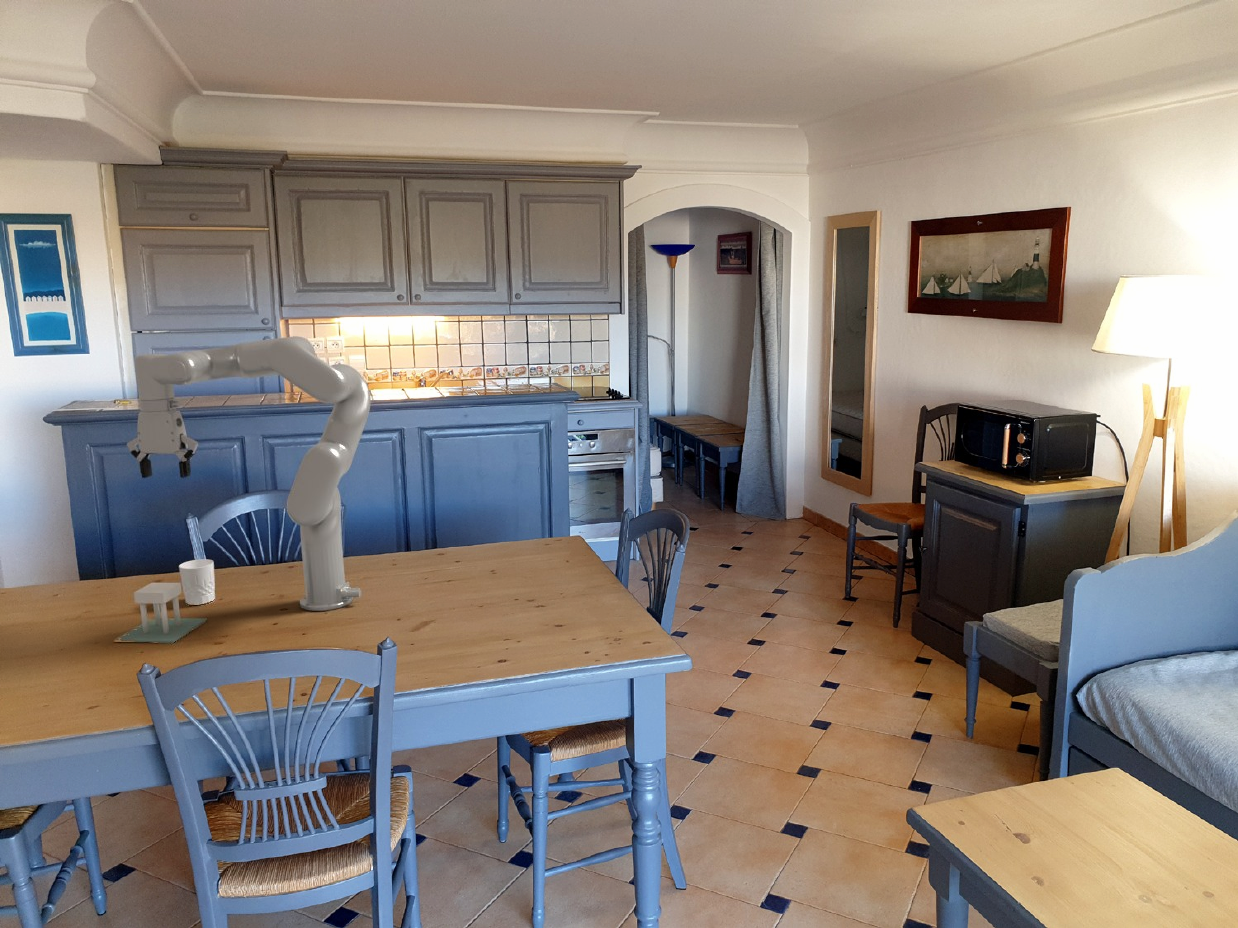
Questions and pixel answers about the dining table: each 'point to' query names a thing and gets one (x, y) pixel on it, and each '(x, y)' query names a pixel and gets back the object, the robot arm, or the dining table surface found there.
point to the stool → (158, 595)
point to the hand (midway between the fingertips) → (166, 476)
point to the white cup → (198, 581)
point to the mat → (157, 631)
